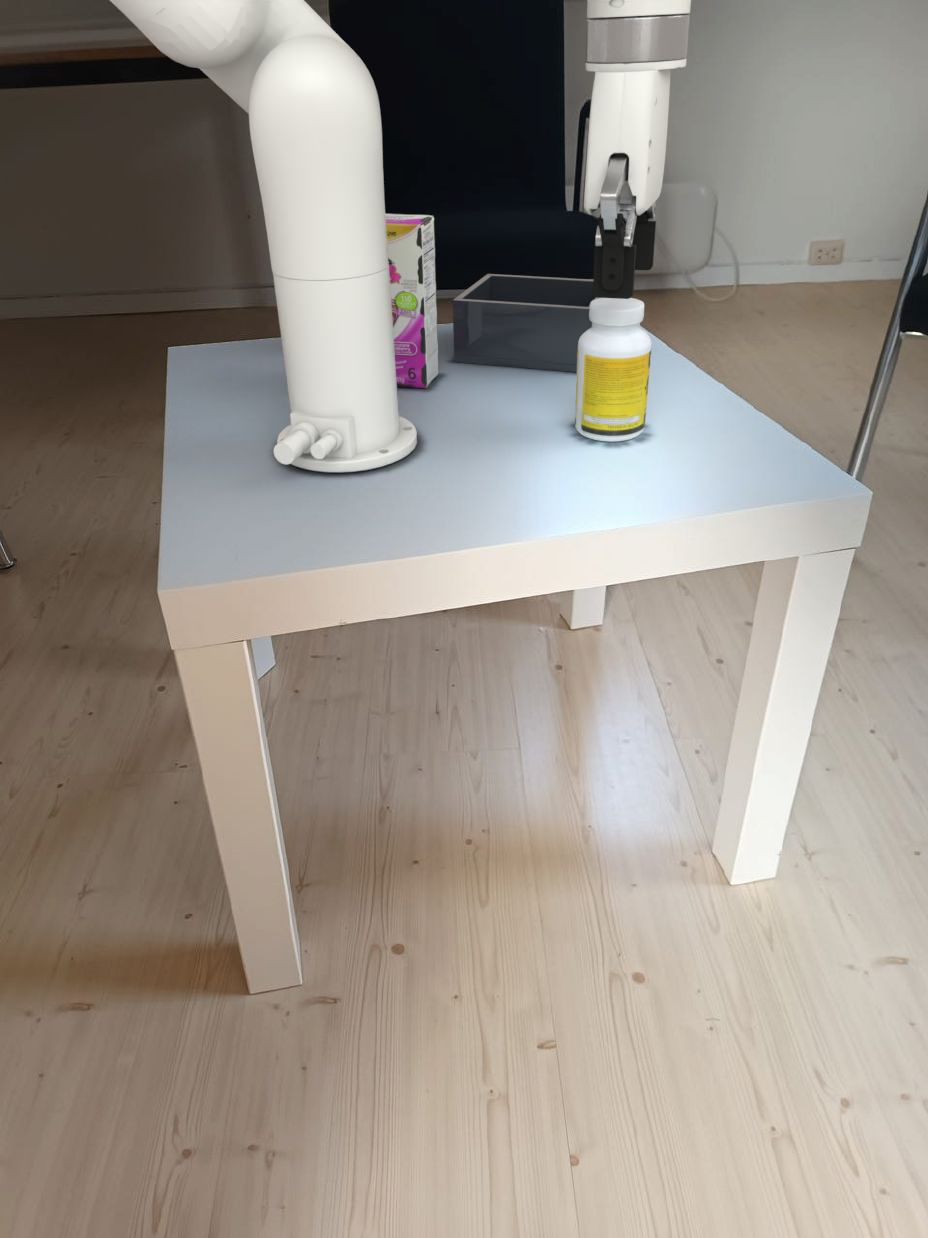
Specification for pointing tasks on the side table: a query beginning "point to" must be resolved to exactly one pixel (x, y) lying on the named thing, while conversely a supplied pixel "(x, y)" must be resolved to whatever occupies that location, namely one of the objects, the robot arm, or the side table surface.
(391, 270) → the candy bar box
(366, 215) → the robot arm
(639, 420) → the pill bottle
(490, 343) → the open box
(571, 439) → the side table surface
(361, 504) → the side table surface
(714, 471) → the side table surface
